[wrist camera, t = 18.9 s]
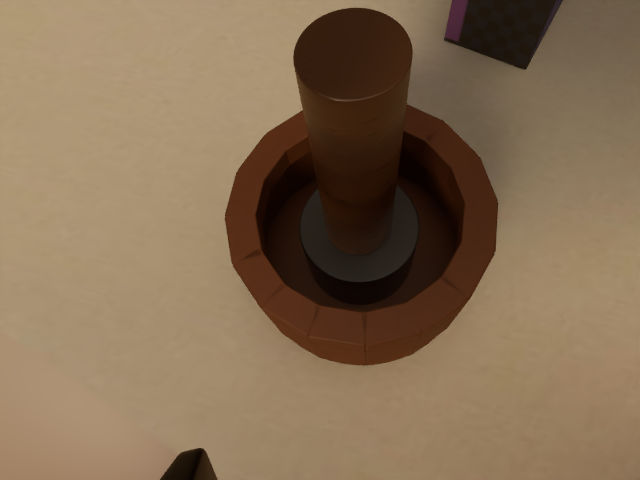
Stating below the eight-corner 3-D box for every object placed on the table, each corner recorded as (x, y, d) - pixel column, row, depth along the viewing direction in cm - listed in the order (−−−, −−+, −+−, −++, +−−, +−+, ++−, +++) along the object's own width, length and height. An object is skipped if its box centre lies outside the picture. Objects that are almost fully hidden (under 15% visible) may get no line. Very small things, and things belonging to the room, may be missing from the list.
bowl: (459, 383, 21) (489, 367, 16) (235, 345, 22) (195, 318, 17) (474, 178, 24) (503, 110, 19) (280, 156, 26) (258, 88, 21)
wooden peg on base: (432, 244, 22) (508, 26, 10) (371, 326, 21) (378, 189, 9) (349, 190, 24) (331, -56, 12) (287, 265, 23) (199, 76, 11)
